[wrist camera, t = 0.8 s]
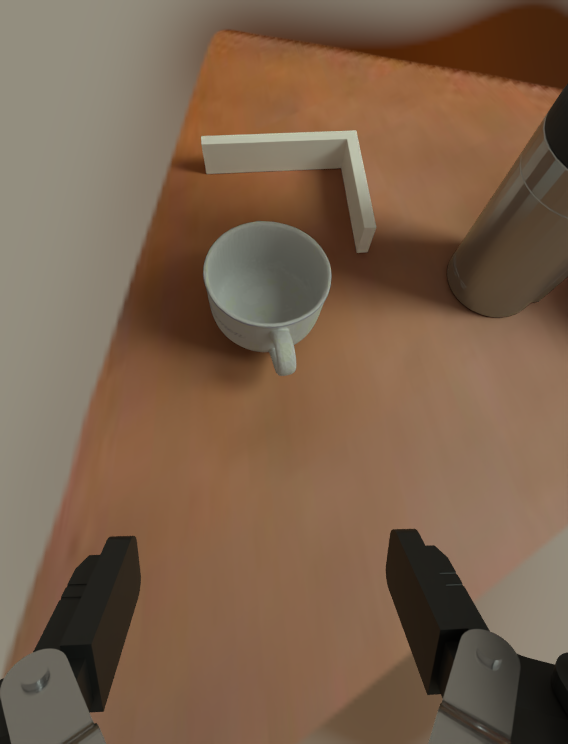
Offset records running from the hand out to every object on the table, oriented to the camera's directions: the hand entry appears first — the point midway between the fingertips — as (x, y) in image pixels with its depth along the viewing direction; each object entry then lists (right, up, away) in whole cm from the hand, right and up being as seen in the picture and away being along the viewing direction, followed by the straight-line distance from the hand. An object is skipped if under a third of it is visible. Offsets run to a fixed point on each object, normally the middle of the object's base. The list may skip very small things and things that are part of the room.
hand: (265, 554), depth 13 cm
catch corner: (+1, +24, +35) cm, 42 cm away
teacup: (-1, +10, +29) cm, 31 cm away
